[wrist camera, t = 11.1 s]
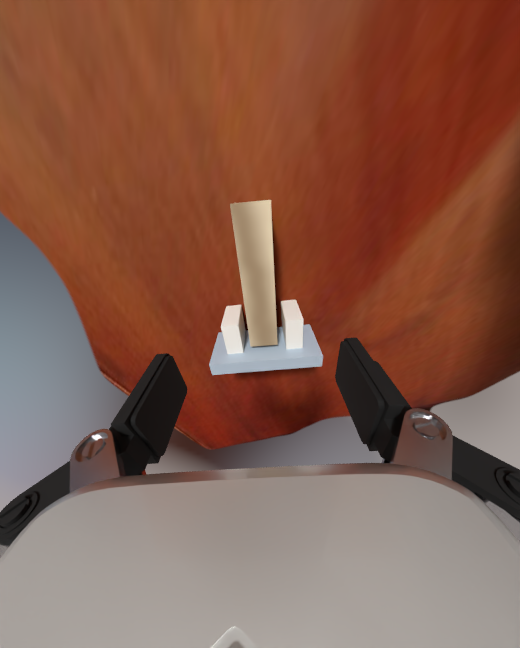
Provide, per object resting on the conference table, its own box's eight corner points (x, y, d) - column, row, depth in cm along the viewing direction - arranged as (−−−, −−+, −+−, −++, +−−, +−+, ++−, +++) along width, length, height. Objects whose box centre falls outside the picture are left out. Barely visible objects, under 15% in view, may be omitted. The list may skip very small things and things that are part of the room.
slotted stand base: (212, 307, 32) (199, 336, 25) (310, 298, 31) (325, 325, 24) (220, 341, 35) (212, 374, 29) (309, 333, 35) (321, 366, 28)
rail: (268, 199, 24) (271, 199, 19) (274, 322, 34) (277, 344, 28) (235, 203, 24) (229, 204, 19) (251, 324, 34) (250, 346, 29)
